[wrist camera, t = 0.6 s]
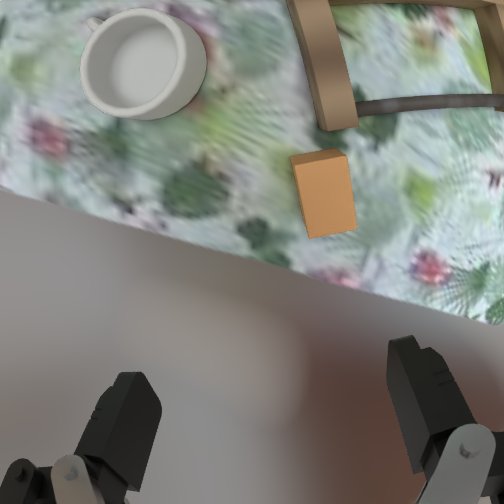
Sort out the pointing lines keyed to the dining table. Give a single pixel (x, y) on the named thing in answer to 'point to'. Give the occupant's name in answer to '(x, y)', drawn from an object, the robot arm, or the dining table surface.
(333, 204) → the tall cardboard carton
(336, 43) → the shelf
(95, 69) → the mug
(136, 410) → the robot arm
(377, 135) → the dining table surface
